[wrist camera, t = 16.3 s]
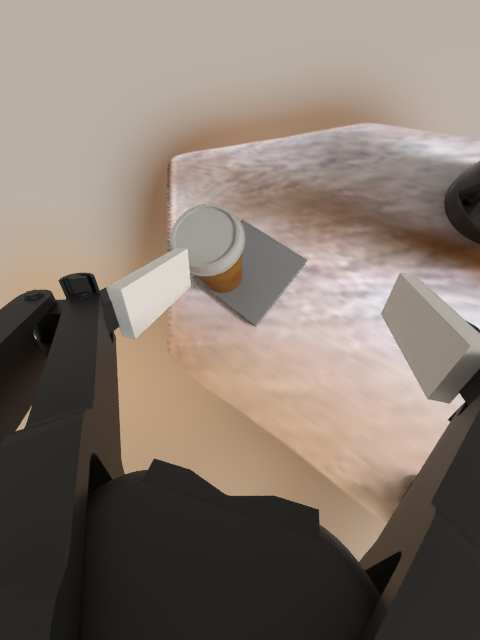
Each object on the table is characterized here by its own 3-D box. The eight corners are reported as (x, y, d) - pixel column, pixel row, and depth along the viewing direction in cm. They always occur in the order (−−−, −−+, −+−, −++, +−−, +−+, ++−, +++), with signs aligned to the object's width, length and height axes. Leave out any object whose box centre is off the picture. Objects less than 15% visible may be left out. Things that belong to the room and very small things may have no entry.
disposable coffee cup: (242, 243, 39) (231, 190, 27) (258, 292, 37) (254, 255, 25) (191, 261, 39) (159, 215, 28) (204, 309, 37) (175, 282, 25)
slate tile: (243, 224, 42) (242, 219, 40) (305, 264, 38) (306, 259, 37) (195, 280, 40) (192, 277, 39) (255, 326, 37) (255, 324, 35)
